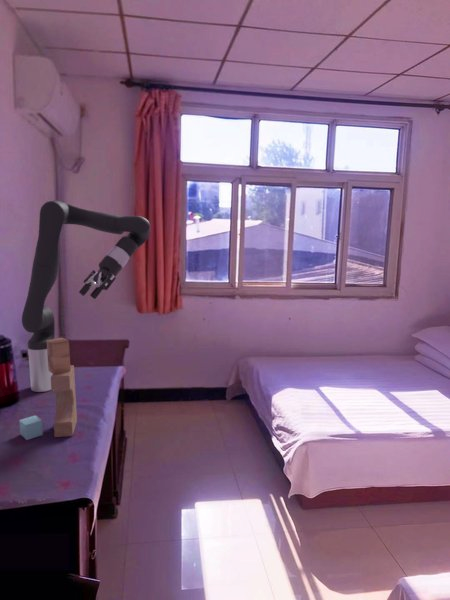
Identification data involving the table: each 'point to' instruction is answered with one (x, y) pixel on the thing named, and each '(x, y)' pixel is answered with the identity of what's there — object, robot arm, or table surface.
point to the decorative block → (64, 403)
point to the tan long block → (58, 356)
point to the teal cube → (31, 427)
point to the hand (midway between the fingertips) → (86, 295)
